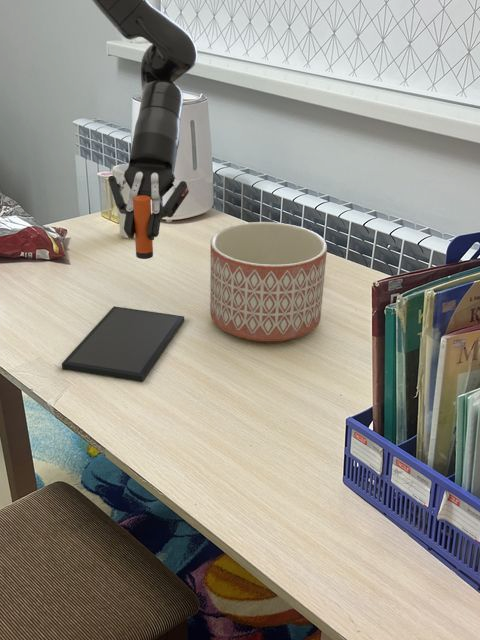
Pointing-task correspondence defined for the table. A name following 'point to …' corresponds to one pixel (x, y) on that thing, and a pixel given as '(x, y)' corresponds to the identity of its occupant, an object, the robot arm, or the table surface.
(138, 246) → the orange peg
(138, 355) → the tablet
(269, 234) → the planter
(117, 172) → the drinking glass
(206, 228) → the table surface
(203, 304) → the table surface
